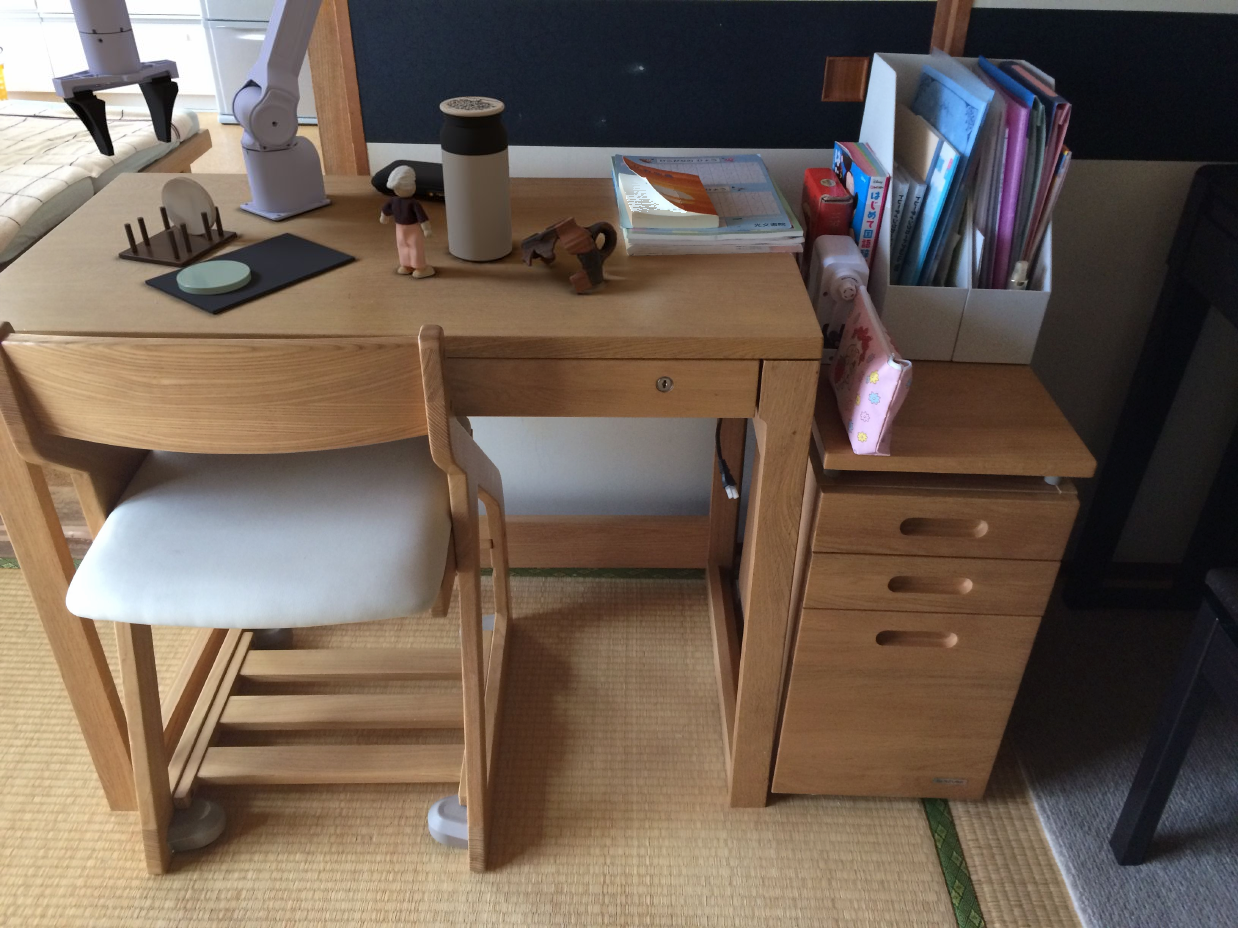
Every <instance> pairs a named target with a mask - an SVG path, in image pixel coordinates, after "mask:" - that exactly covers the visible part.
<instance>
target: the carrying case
mask: <svg viewBox="0 0 1238 928" xmlns="http://www.w3.org/2000/svg"><path fill="white" fill-rule="evenodd" d="M400 166H408V167H411V168H412V169H413V170H414V172H415V175H416V176H415V179H416V180H414V181H415V185H416V190H415V192H414V194H413V195H412V196H411V197H412V198H420V199H421V198H423V199H424V198H425V199H432V200H441V201H445V190H444V178H443V165H442V162H441V163H440V162H433V161H432V162H431V161H421V160H411V159H396V160H393V161H392V162H391V163H389V164H387V165H386V166H384V167H383V168H381V169H380V170H378V171H377V172H375V174H374V176H372V177H371V180H370V184H371V185H372V187H373V188H374V189H375V190H376V191H377V192H378V193H382V194H387V195H395V196H396V195H397V194H396V193H395V191H394V190H393V189H390V188H388V187H387V182H388V178H389V177H390V174H391V173H392V172H393V171H394V170H395V169H396V168H398V167H400ZM397 196H398V195H397Z"/></svg>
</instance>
